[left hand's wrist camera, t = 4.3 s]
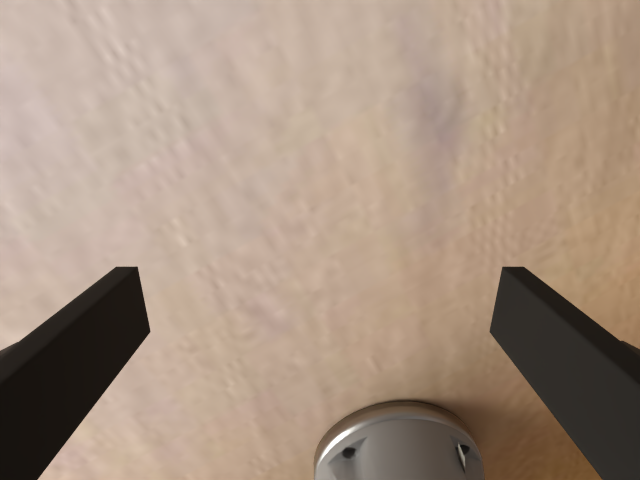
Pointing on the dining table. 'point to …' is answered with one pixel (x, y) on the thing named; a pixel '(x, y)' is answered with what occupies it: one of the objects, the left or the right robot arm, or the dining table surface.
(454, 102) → the dining table surface
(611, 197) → the dining table surface
